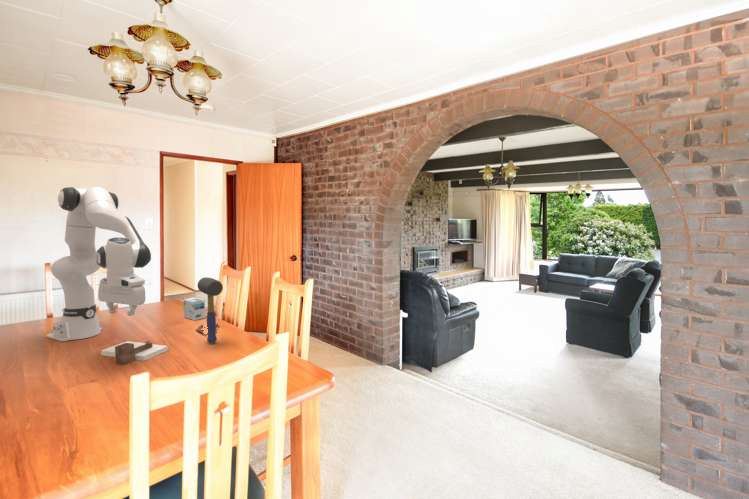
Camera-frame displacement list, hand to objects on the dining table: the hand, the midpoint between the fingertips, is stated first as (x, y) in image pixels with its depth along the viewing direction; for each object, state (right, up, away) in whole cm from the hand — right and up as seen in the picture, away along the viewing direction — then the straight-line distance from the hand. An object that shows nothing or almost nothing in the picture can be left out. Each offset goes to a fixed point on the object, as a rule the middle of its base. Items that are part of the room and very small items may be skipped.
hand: (121, 314), depth 147 cm
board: (-2, -18, +11) cm, 21 cm away
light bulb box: (-2, -13, +64) cm, 65 cm away
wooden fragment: (+14, -16, +45) cm, 49 cm away
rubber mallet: (+25, -17, +23) cm, 39 cm away
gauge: (+2, -19, +6) cm, 20 cm away
